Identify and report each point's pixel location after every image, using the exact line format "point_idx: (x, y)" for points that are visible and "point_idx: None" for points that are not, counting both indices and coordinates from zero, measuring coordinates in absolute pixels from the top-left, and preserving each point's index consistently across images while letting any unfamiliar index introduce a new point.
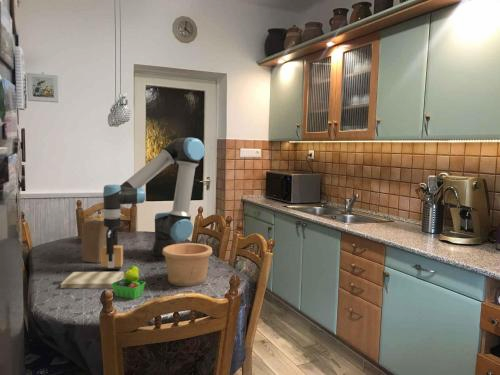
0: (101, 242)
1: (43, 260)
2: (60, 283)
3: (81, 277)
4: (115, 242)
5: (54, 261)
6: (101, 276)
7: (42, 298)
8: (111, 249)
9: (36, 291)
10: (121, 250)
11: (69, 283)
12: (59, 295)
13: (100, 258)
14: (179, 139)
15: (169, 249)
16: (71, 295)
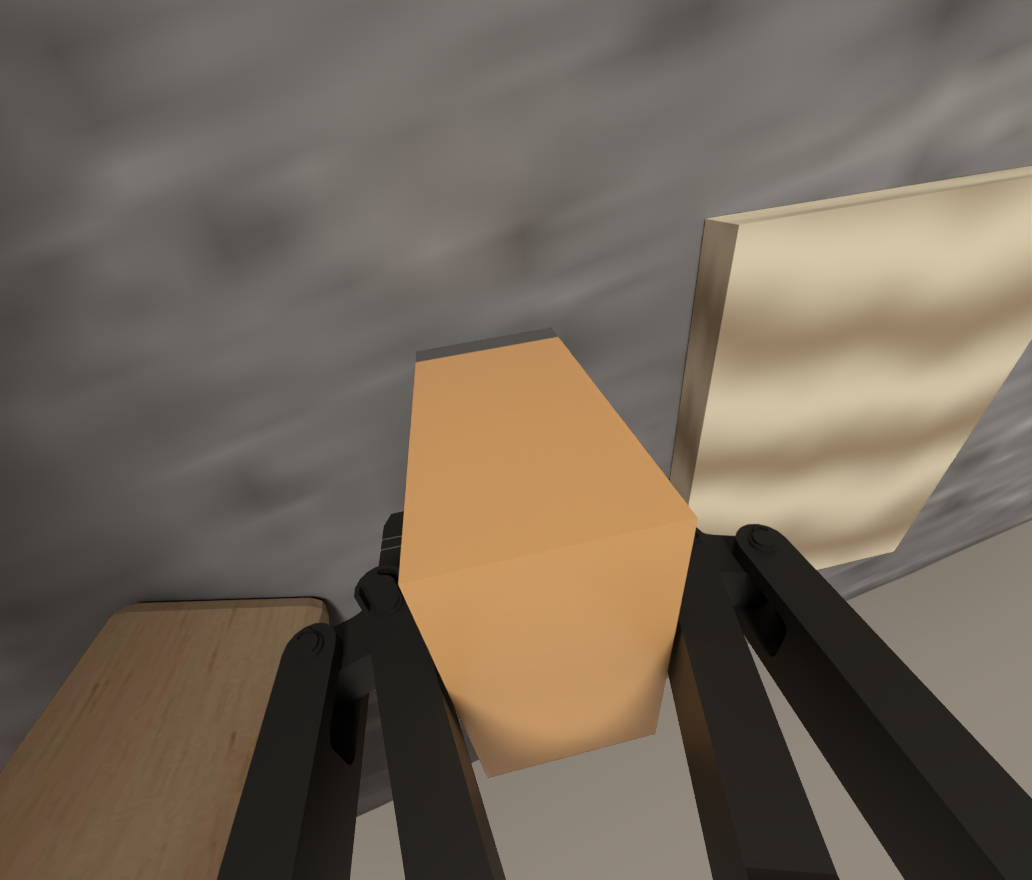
0: (199, 852)
1: (378, 784)
2: None
3: (809, 516)
4: (462, 770)
5: (378, 756)
6: (840, 398)
7: (973, 527)
8: (838, 599)
9: (858, 589)
10: (585, 476)
11: (910, 518)
12: (976, 485)
13: (297, 629)
14: None
15: None
16: (1017, 431)
